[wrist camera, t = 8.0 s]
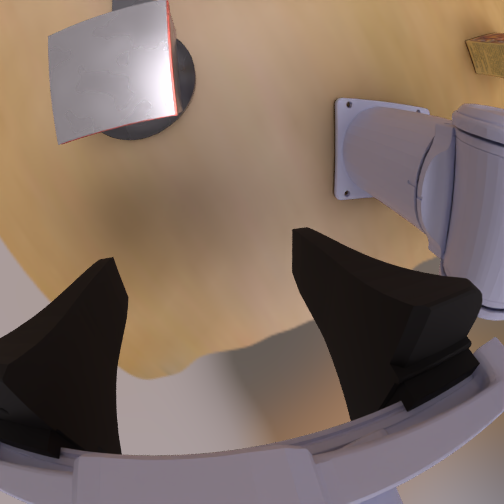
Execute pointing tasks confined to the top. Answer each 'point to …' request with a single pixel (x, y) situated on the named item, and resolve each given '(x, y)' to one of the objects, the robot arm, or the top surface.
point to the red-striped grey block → (114, 71)
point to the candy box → (488, 54)
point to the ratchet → (186, 85)
